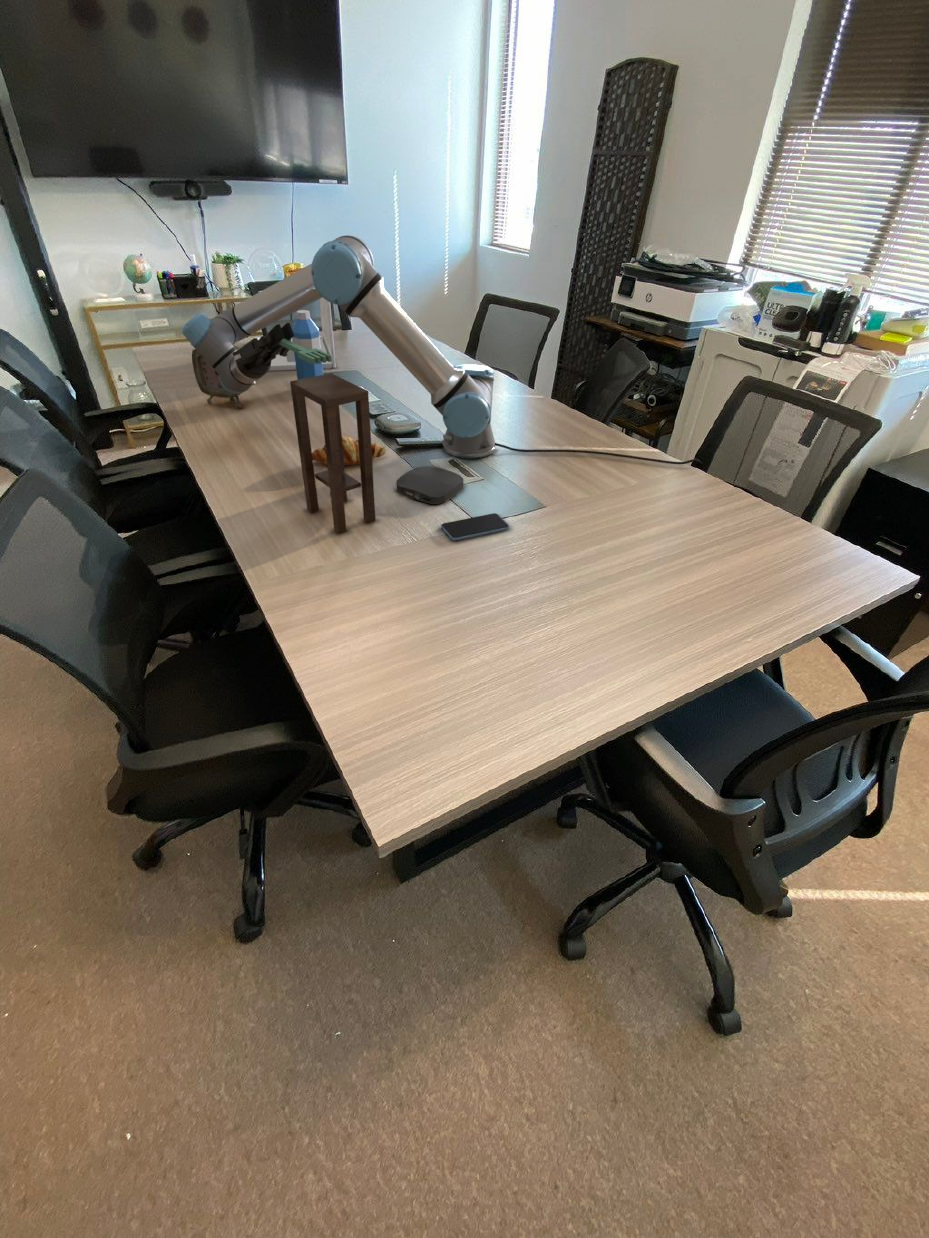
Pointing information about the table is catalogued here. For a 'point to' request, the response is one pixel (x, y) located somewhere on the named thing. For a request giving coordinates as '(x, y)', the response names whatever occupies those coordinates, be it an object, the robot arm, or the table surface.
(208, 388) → the tabletop clock
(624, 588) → the table surface
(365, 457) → the plant stand
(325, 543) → the table surface
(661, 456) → the table surface
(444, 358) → the robot arm
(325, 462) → the croissant
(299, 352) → the fork
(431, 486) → the media streaming box
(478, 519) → the smartphone
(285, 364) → the laptop
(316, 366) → the water bottle
